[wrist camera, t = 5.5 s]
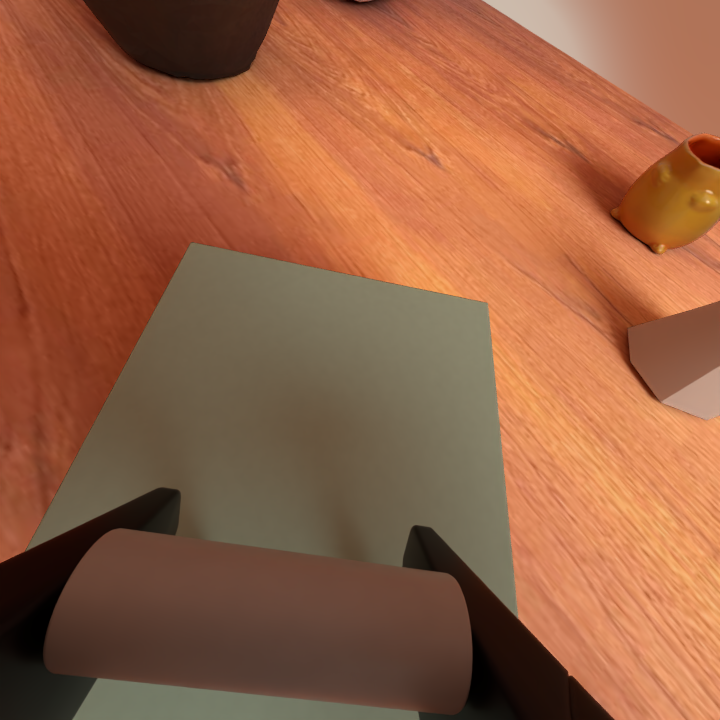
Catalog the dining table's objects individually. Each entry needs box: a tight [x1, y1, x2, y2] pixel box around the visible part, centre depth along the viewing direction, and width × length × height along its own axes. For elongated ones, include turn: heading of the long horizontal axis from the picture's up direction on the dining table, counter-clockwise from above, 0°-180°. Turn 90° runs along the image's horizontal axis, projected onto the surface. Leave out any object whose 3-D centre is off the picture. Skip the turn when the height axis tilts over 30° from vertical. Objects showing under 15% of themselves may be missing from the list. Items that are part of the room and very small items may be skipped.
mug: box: [610, 133, 720, 254], centre depth 29 cm, size 12×7×7 cm, turn 115°
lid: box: [25, 242, 518, 720], centre depth 8 cm, size 14×12×5 cm
